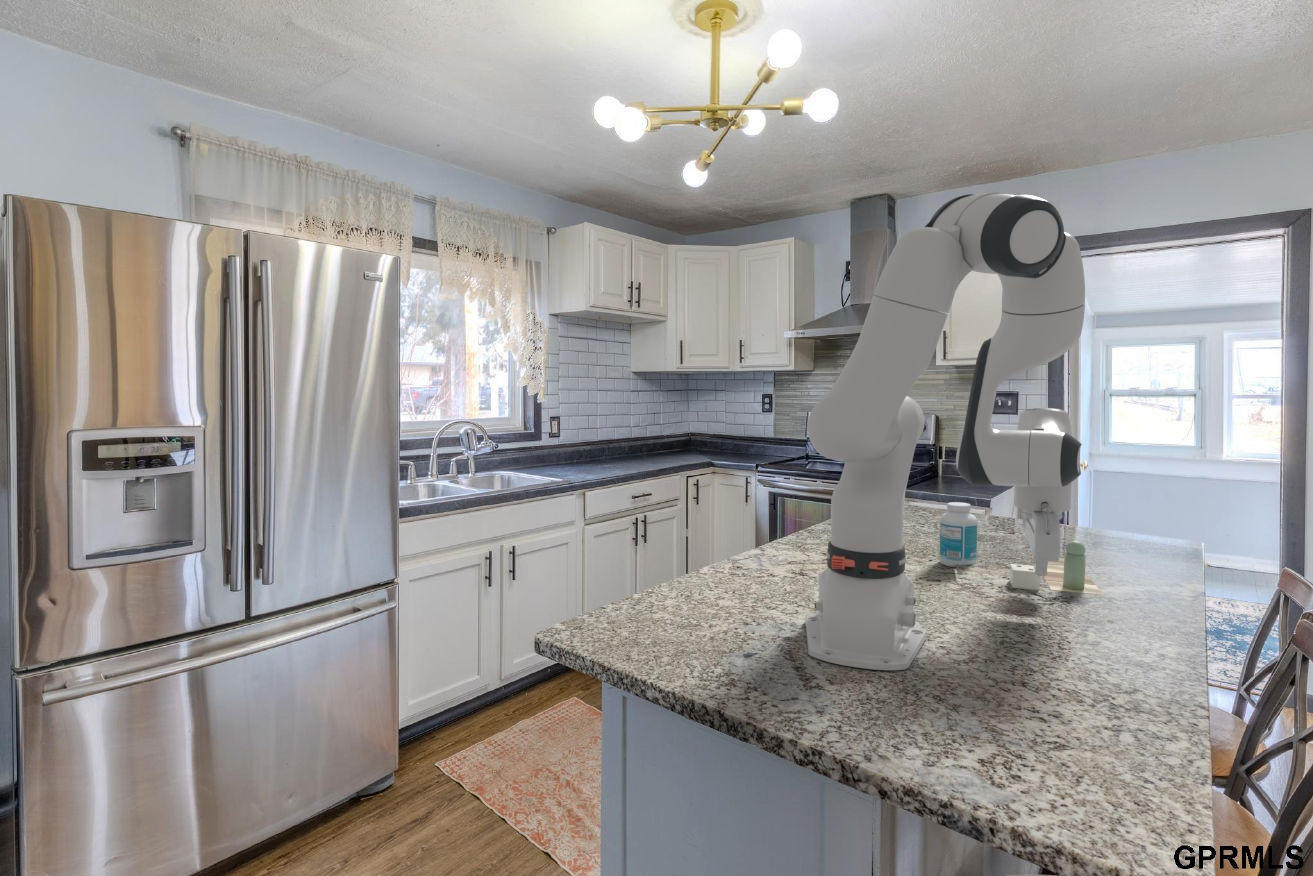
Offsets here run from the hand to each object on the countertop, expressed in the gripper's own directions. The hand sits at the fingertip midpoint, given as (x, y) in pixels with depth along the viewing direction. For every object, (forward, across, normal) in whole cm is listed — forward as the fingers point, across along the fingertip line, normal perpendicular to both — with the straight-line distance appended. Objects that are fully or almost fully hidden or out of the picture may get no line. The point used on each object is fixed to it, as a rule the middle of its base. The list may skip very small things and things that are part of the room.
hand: (1040, 573), depth 119 cm
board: (+5, +19, -6) cm, 21 cm away
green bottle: (+4, +9, -6) cm, 12 cm away
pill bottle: (+5, +22, +14) cm, 26 cm away
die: (+6, +7, +2) cm, 9 cm away
